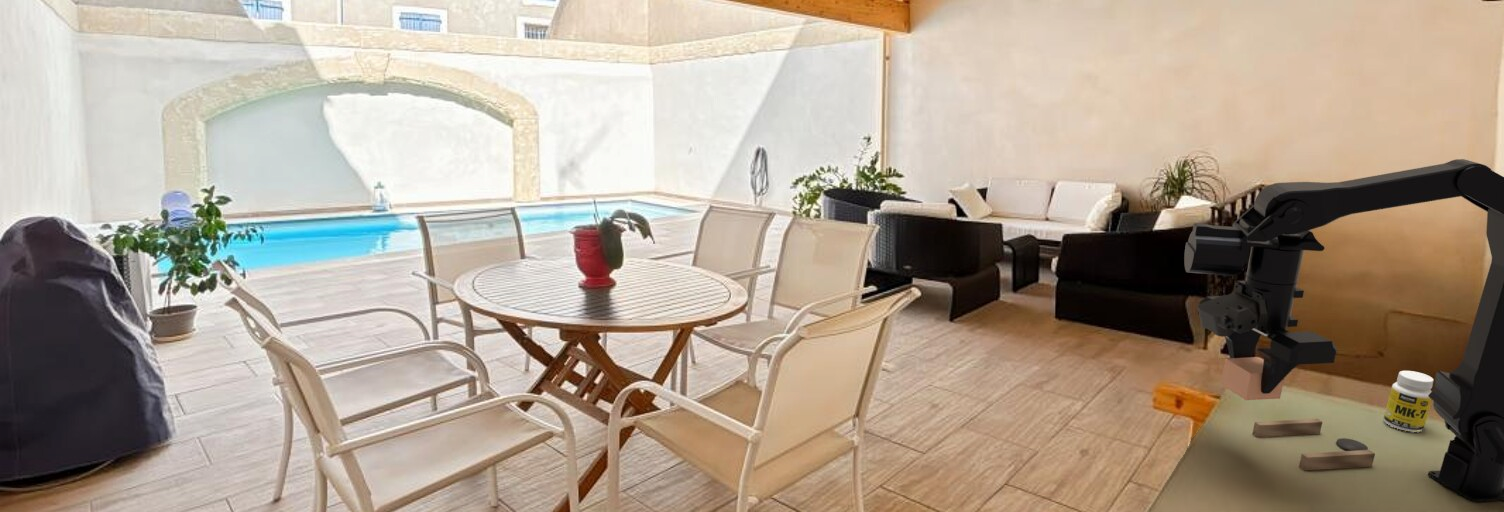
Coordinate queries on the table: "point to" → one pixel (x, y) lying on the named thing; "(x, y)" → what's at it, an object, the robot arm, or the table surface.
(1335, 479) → the table surface
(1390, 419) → the supplement bottle
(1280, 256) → the robot arm
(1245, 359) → the terracotta block
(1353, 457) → the channel
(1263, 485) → the table surface
